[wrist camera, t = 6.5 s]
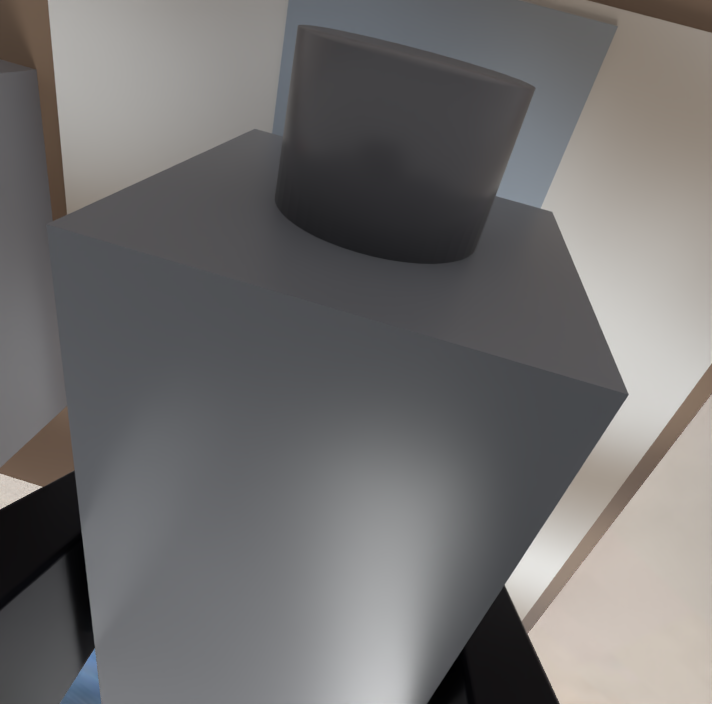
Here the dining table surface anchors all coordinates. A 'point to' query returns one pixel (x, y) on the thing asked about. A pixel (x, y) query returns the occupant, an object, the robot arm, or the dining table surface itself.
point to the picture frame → (519, 183)
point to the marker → (322, 388)
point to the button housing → (25, 269)
